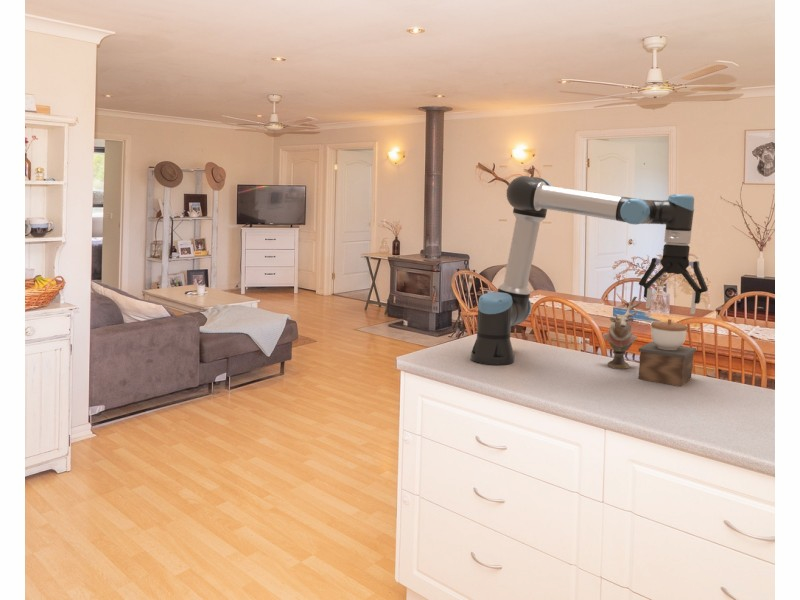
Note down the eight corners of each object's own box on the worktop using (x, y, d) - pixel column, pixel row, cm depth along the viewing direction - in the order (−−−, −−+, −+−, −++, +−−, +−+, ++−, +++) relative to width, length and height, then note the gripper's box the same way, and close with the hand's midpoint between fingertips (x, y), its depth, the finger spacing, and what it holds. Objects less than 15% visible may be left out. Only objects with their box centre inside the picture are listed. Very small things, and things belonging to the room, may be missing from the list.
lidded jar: (653, 343, 211) (656, 315, 210) (688, 347, 205) (691, 319, 204) (645, 348, 203) (648, 319, 201) (681, 353, 197) (684, 323, 195)
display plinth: (636, 378, 204) (638, 348, 203) (649, 370, 215) (651, 341, 214) (682, 387, 196) (685, 355, 194) (693, 378, 207) (696, 348, 205)
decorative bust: (618, 370, 210) (624, 294, 210) (596, 365, 222) (601, 294, 222) (646, 371, 213) (651, 297, 213) (622, 367, 225) (627, 297, 225)
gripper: (632, 241, 204) (626, 306, 207) (717, 247, 189) (709, 317, 192) (640, 241, 210) (634, 304, 213) (722, 246, 195) (715, 314, 198)
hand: (669, 310), depth 202 cm, fingers open, 13 cm apart
